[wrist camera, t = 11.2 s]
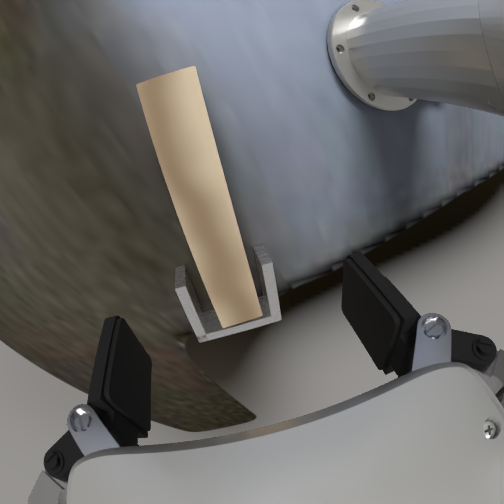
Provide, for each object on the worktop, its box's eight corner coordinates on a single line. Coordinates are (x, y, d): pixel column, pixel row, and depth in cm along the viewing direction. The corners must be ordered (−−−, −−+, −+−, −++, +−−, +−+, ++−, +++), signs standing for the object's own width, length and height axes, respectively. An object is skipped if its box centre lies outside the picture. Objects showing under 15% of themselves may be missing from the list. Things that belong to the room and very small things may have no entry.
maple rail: (193, 75, 19) (194, 65, 14) (251, 285, 30) (262, 315, 26) (146, 89, 18) (136, 84, 14) (216, 296, 30) (223, 328, 26)
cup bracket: (262, 244, 28) (272, 262, 25) (272, 299, 32) (281, 319, 29) (175, 267, 27) (175, 288, 24) (197, 320, 31) (199, 342, 28)
